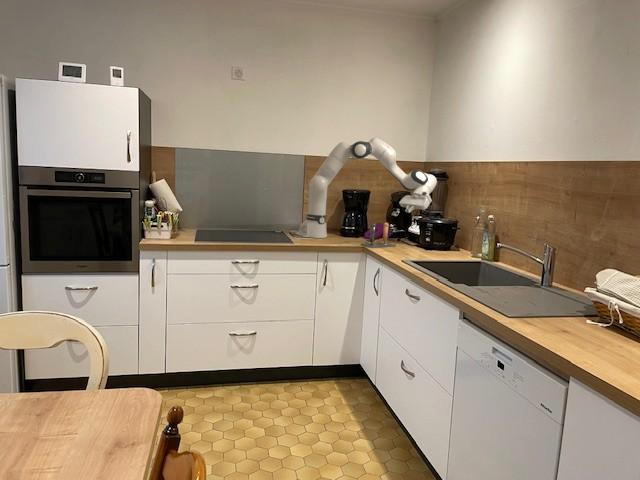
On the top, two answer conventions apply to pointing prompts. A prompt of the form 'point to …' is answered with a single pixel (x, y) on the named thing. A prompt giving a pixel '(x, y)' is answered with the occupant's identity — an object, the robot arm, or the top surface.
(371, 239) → the fixed leg
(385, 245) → the hole plate
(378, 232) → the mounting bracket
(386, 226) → the sliding leg
